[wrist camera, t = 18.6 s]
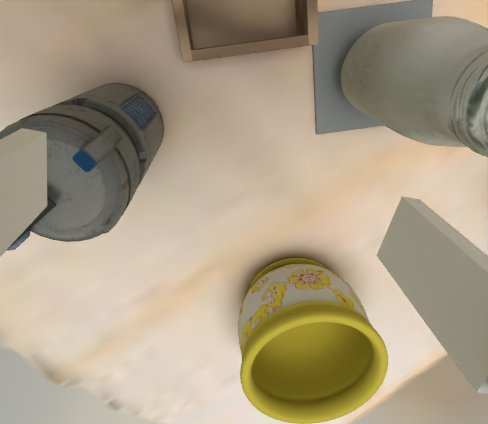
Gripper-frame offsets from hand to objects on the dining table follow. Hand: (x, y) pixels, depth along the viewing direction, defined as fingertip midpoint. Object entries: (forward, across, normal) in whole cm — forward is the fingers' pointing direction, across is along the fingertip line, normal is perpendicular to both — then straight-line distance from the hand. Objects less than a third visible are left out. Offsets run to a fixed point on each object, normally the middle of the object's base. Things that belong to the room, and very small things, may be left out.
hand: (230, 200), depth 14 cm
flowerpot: (+35, +17, -29) cm, 49 cm away
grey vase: (+35, +18, +5) cm, 40 cm away
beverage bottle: (+36, -11, -8) cm, 38 cm away
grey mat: (+35, +18, +5) cm, 40 cm away
